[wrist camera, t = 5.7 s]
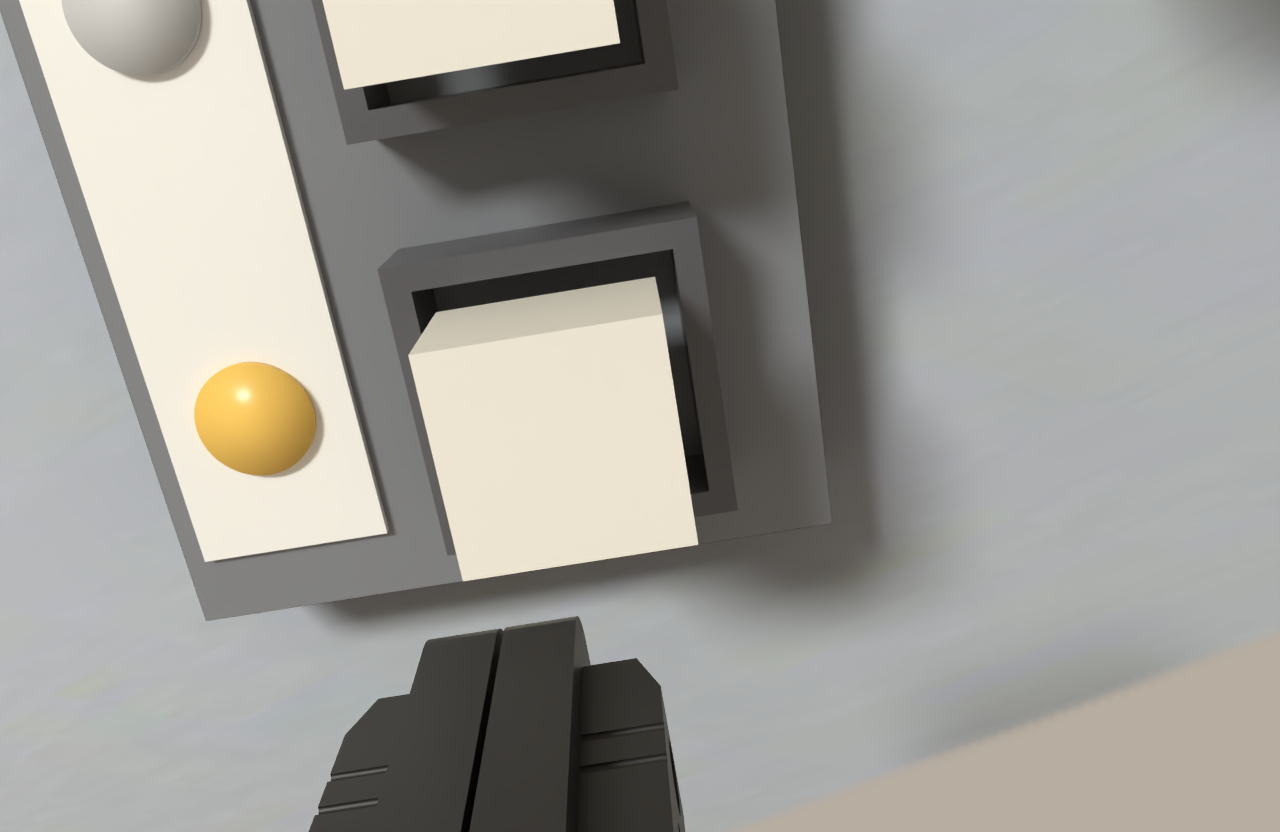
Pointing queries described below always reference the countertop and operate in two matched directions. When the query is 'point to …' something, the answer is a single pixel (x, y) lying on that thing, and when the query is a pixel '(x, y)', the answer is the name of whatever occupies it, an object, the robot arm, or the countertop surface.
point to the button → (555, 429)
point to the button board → (414, 261)
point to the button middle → (458, 34)
